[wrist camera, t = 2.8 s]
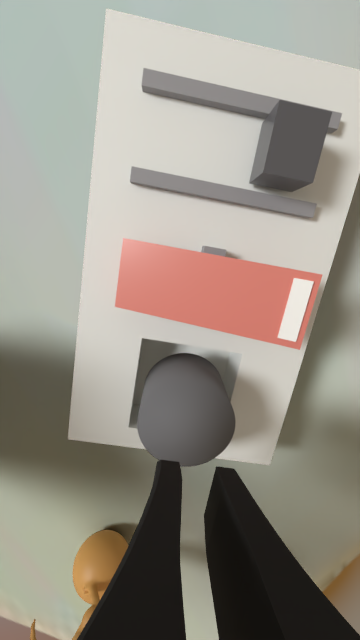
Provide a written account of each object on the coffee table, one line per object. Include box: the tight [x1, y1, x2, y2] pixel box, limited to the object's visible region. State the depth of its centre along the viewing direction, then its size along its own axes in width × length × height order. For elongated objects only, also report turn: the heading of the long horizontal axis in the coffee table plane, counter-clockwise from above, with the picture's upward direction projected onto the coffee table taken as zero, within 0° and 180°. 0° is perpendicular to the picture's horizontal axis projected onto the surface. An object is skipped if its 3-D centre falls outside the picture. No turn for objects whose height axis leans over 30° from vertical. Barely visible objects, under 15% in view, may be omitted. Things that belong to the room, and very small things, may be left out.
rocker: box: [115, 238, 322, 350], centre depth 12 cm, size 3×8×1 cm, turn 80°
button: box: [137, 353, 236, 467], centre depth 14 cm, size 4×4×3 cm
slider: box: [249, 100, 332, 192], centre depth 11 cm, size 2×2×2 cm
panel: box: [68, 9, 360, 465], centre depth 15 cm, size 20×12×4 cm, turn 170°
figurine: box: [30, 530, 128, 640], centre depth 16 cm, size 8×6×12 cm
